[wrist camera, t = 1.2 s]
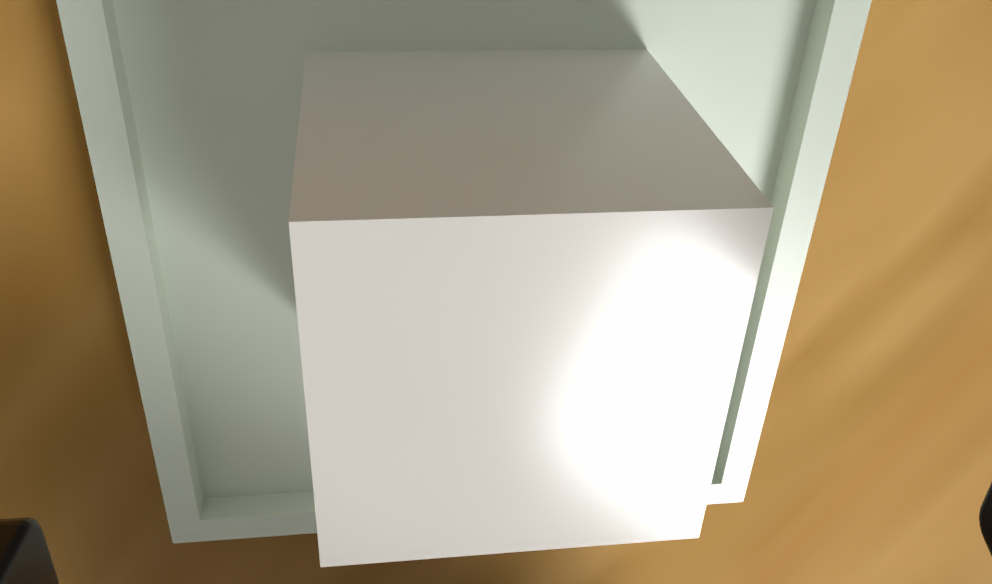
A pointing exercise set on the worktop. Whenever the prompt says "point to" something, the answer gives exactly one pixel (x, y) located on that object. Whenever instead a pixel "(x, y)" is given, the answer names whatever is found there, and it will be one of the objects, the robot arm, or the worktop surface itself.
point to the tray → (268, 186)
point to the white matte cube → (513, 300)
